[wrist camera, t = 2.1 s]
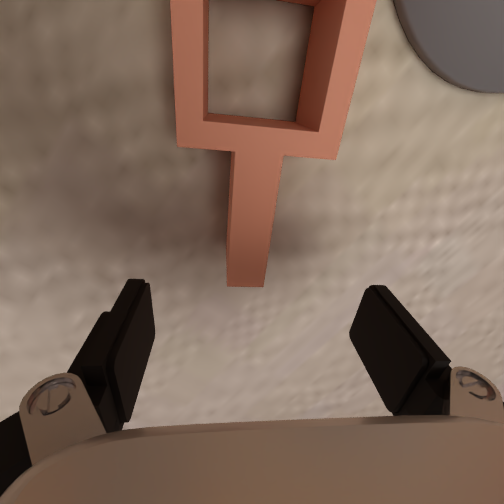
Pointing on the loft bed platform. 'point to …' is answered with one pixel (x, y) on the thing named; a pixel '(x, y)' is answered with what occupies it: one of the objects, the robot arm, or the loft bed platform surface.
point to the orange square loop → (267, 130)
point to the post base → (458, 40)
